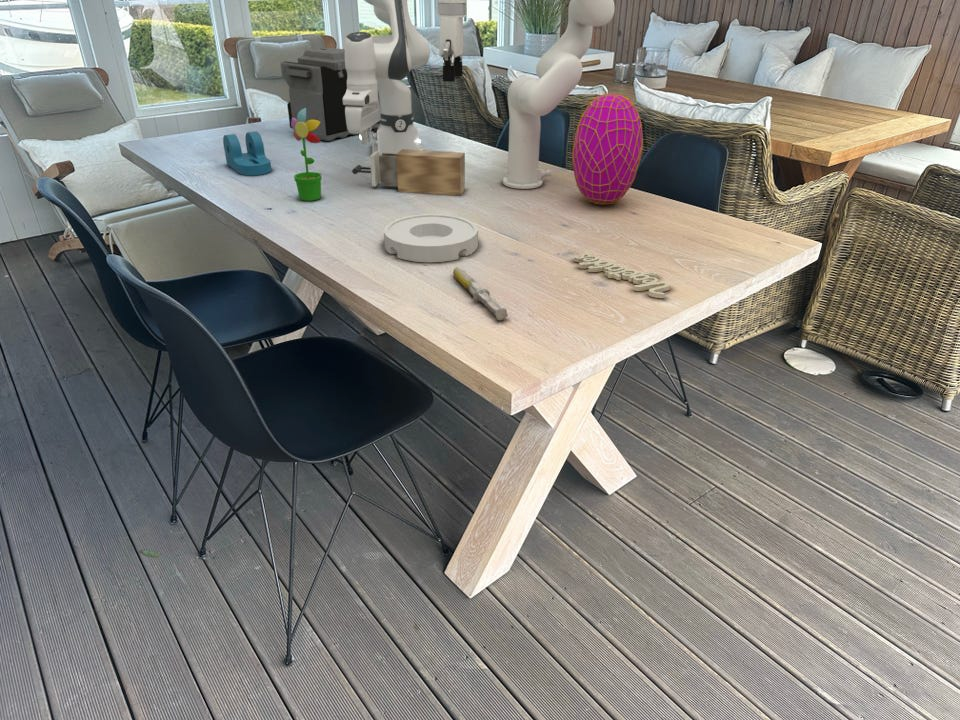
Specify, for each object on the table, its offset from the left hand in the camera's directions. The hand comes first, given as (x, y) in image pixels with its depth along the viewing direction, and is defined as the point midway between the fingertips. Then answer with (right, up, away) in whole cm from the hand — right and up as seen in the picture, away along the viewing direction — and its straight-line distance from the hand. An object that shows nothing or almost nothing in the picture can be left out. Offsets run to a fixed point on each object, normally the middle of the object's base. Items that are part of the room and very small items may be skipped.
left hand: (366, 142), depth 207 cm
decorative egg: (+70, -20, -6) cm, 73 cm away
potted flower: (-16, -18, -5) cm, 24 cm away
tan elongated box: (+20, -14, +3) cm, 24 cm away
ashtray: (+22, -37, -36) cm, 57 cm away
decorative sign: (+67, -47, -52) cm, 96 cm away
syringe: (+34, -52, -62) cm, 88 cm away
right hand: (+27, +14, -14) cm, 33 cm away
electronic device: (-23, +27, +72) cm, 80 cm away
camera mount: (-42, -2, +22) cm, 48 cm away
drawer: (+8, -12, +5) cm, 15 cm away
